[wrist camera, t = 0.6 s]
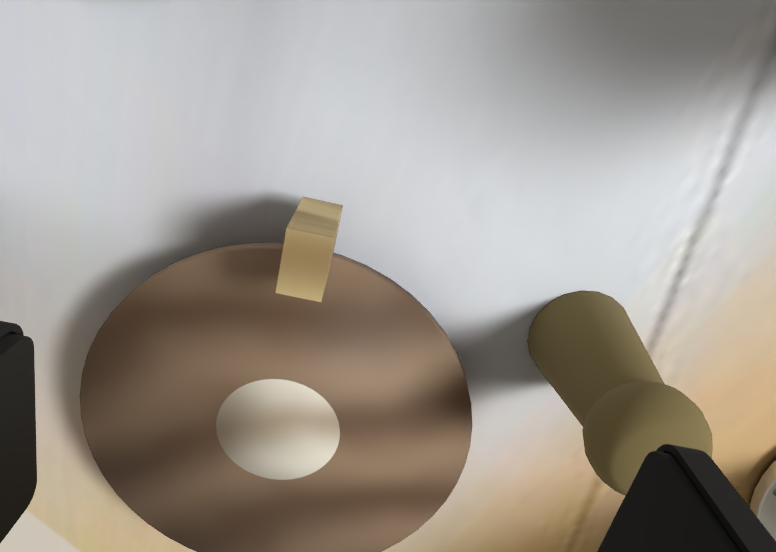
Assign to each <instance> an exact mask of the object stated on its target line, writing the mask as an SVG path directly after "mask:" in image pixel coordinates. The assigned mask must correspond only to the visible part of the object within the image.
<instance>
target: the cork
mask: <svg viewBox="0 0 776 552" xmlns="http://www.w3.org/2000/svg"><path fill="white" fill-rule="evenodd" d="M528 347H529V353H530V356H531V357H532V359H533V361H534V362H535V364H536V366H537V367H538V368H539V370H540V371H541V372H542V374H543V375H544V376H545V378H546V379H547V380H548V381H549V383H550V384H551V385H552V387H553V388H554V389H555V391H556V392H557V393H558V395H559V396H560V397H561V399H562V400H563V401H564V402H565V404H566V405H567V406H568V408H569V409H570V410H571V412H572V413H573V414H574V416H575V417H576V418H577V419H578V421H579V422H580V423H581V425H582V426H583V439H584V446H585V453H586V456H587V458H588V460H589V462H590V464H591V466H592V467H593V469H594V471H595V472H596V474H597V475H598V476H599V477H600V479H601V480H602V481H603V482H604V483H606V484H607V485H608V486H610V487H611V488H612V489H614V490H615V491H617V492H619V493H621V494H623V495H626V494H627V492H628V490H629V488H630V486H631V485H632V483H633V481H634V479H635V477H636V475H637V473H638V471H639V469H640V467H641V465H642V463H643V461H644V459H645V457H646V456H647V454H648V453H650V452H652V451H656V450H657V449H658V448H659V447H660V446H662V445H664V444H671V445H676V446H682V447H687V448H693V449H698V450H701V451H704V452H705V453H707V454H708V455H709V456H710V457H712V433H711V430H710V428H709V425H708V423H707V421H706V419H705V417H704V415H703V413H702V411H701V410H700V409H699V408H698V407H697V405H696V404H695V403H694V402H692V401H691V400H690V399H689V398H688V397H687V396H685V395H684V394H683V393H682V392H680V391H678V390H677V389H675V388H673V387H671V386H668V385H665V384H664V382H663V380H662V378H661V377H660V375H659V373H658V371H657V369H656V367H655V365H654V363H653V362H652V360H651V358H650V356H649V354H648V352H647V350H646V349H645V347H644V345H643V343H642V341H641V339H640V337H639V336H638V334H637V332H636V330H635V328H634V326H633V324H632V323H631V321H630V319H629V317H628V315H627V313H626V311H625V310H624V308H623V307H622V306H621V305H620V304H619V303H618V302H617V301H616V300H615V299H613V298H612V297H610V296H607V295H605V294H602V293H600V292H594V291H578V292H573V293H568V294H564V295H563V296H561V297H559V298H557V299H555V300H553V301H551V302H549V303H548V304H547V305H546V306H545V307H544V308H543V309H542V310H541V311H540V312H539V313H538V314H537V316H536V318H535V319H534V321H533V323H532V325H531V326H530V331H529V336H528Z"/></svg>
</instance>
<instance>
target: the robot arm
mask: <svg viewBox="0 0 776 552" xmlns="http://www.w3.org/2000/svg"><path fill="white" fill-rule="evenodd" d="M36 484H37V464H36V419H35V373H34V345H33V341H32V339H31V338H29V337H27V336H24V335H23V331H22V329H21V327H20V326H19V325H17V324H14V323H8V322H3V321H0V543H1V542H2V540H3V539H4V538H5V536H6V535H7V534H8V532H9V531H10V530H11V528H12V527H13V526H14V524H15V523H16V522H17V520H18V519H19V518H20V516H21V515H22V514H23V512H24V511H25V510H26V508H27V507H28V505H29V504H30V502H31V500H32V498H33V495H34V492H35V489H36ZM597 552H776V460H775V461H774V462H773V463H772V464H771V466H770V467H769V468H768V469H767V470H766V472H765V473H764V474H763V475H762V477H761V479H760V481H759V483H758V484H757V486H756V488H755V490H754V493H753V496H752V500H751V503H750V507H749V506H748V505H747V504H746V502H745V501H744V500H743V498H742V497H741V496H740V495H739V493H738V492H737V491H736V489H735V488H734V487H733V486H732V484H731V483H730V482H729V480H728V479H727V478H726V477H725V475H724V474H723V473H722V472H721V470H720V469H719V468H718V466H717V465H716V464H715V463H714V461H713V460H712V459H711V457H710V456H709V455H708V454H707V453H705V452H704V451H701V450H698V449H693V448H687V447H682V446H676V445H671V444H664V445H662V446H660V447H659V448H658V449H657V450H656V451H652V452H650V453H648V454H647V456H646V457H645V459H644V461H643V463H642V465H641V467H640V469H639V471H638V473H637V475H636V477H635V479H634V481H633V483H632V485H631V486H630V488H629V490H628V492H627V494H626V496H625V498H624V500H623V502H622V504H621V506H620V508H619V510H618V512H617V514H616V516H615V518H614V520H613V522H612V524H611V526H610V528H609V530H608V532H607V534H606V536H605V538H604V540H603V542H602V544H601V546H600V547H599V549H598V551H597Z"/></svg>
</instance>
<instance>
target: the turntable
mask: <svg viewBox="0 0 776 552" xmlns="http://www.w3.org/2000/svg"><path fill="white" fill-rule="evenodd" d="M342 208H343V205H338V204H334V203H329V202H325V201H320V200H316V199H311V198H307V197H303V198H302V200H301V201H300V203H299V205H298V207H297V209H296V211H295V213H294V215H293V217H292V218H291V220H290V222H289V224H288V226H287V228H286V233H285V239H284V243H248V244H238V245H229V246H224V247H220V248H216V249H211V250H207V251H203V252H200V253H197V254H195V255H192V256H189V257H187V258H184V259H181V260H179V261H177V262H175V263H173V264H171V265H169V266H168V267H166V268H164V269H162V270H160V271H158V272H157V273H155V274H154V275H152V276H151V277H150V278H148V279H147V280H146V281H144V282H143V283H142V284H140V285H139V286H138V287H136V288H135V289H134V290H133V291H132V292H131V293H130V294H129V295H128V296H127V297H126V298H125V299H124V300H123V301H122V302H121V304H120V305H119V306H118V307H117V308H116V309H115V310H114V311H113V312H112V313H111V314H110V315H109V317H108V318H107V320H106V321H105V323H104V324H103V325H102V327H101V328H100V330H99V331H98V333H97V335H96V337H95V339H94V341H93V343H92V345H91V348H90V350H89V352H88V355H87V358H86V362H85V366H84V369H83V373H82V380H81V390H80V405H81V418H82V422H83V427H84V432H85V436H86V439H87V442H88V444H89V447H90V450H91V452H92V455H93V457H94V459H95V461H96V463H97V465H98V467H99V468H100V470H101V472H102V474H103V476H104V477H105V479H106V480H107V481H108V483H109V484H110V485H111V487H112V488H113V489H114V491H115V492H116V493H117V495H118V496H119V497H120V498H121V499H122V500H123V501H124V502H125V503H126V504H127V505H128V506H129V507H130V508H131V509H132V510H133V511H134V512H135V513H136V514H137V515H138V516H140V517H141V518H142V519H143V520H144V521H146V522H147V523H148V524H149V525H151V526H152V527H154V528H155V529H157V530H158V531H160V532H161V533H162V534H164V535H165V536H167V537H169V538H170V539H172V540H174V541H176V542H178V543H180V544H182V545H184V546H185V547H187V548H190V549H192V550H194V551H197V552H382V551H384V550H385V549H387V548H389V547H391V546H393V545H395V544H397V543H399V542H400V541H402V540H403V539H405V538H406V537H408V536H409V535H411V534H412V533H413V532H415V531H416V530H418V529H419V528H420V527H421V526H422V525H423V524H424V523H425V522H427V521H428V520H429V519H430V518H431V517H432V516H433V515H434V514H435V513H436V512H437V510H438V509H439V508H440V507H441V506H442V505H443V503H444V502H445V501H446V500H447V498H448V496H449V495H450V493H451V492H452V490H453V489H454V487H455V485H456V484H457V482H458V479H459V477H460V475H461V473H462V470H463V468H464V466H465V463H466V459H467V455H468V451H469V448H470V441H471V432H472V412H471V402H470V397H469V392H468V388H467V383H466V379H465V374H464V371H463V369H462V366H461V363H460V361H459V358H458V356H457V353H456V351H455V349H454V347H453V346H452V344H451V342H450V340H449V339H448V337H447V335H446V333H445V332H444V330H443V329H442V328H441V326H440V325H439V324H438V323H437V321H436V320H435V319H434V317H433V316H432V315H431V313H430V312H429V311H428V310H427V309H426V308H425V307H424V306H423V305H422V304H421V303H420V302H418V301H417V300H416V299H415V298H414V297H413V296H412V295H411V294H410V293H409V292H407V291H406V290H405V289H403V288H402V287H401V286H399V285H398V284H397V283H395V282H394V281H393V280H391V279H390V278H388V277H386V276H384V275H383V274H381V273H379V272H377V271H376V270H374V269H372V268H370V267H368V266H367V265H364V264H362V263H359V262H357V261H354V260H352V259H350V258H347V257H345V256H342V255H339V254H336V253H333V251H334V247H335V242H336V237H337V232H338V227H339V222H340V217H341V212H342Z"/></svg>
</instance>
